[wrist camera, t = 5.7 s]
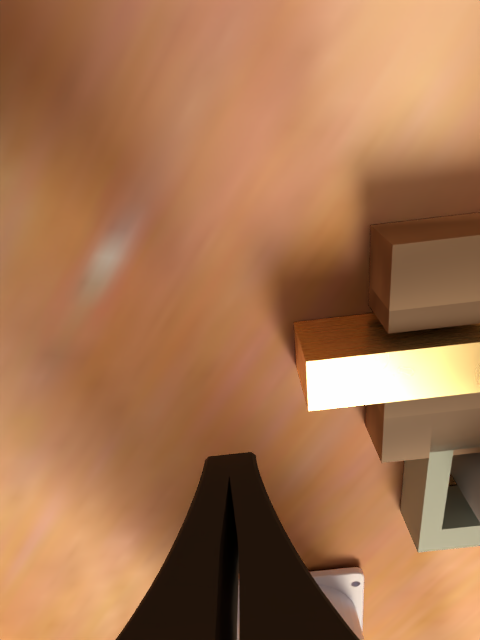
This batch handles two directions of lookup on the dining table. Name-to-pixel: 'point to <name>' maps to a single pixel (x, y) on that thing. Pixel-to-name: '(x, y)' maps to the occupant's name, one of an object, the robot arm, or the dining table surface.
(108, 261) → the dining table surface
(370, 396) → the brown rectangular block
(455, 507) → the rack
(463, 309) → the socket block
